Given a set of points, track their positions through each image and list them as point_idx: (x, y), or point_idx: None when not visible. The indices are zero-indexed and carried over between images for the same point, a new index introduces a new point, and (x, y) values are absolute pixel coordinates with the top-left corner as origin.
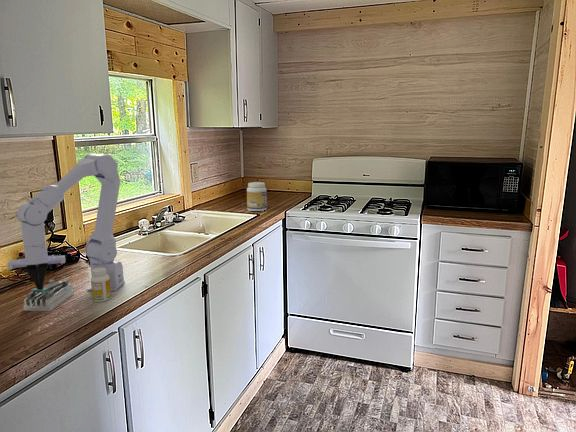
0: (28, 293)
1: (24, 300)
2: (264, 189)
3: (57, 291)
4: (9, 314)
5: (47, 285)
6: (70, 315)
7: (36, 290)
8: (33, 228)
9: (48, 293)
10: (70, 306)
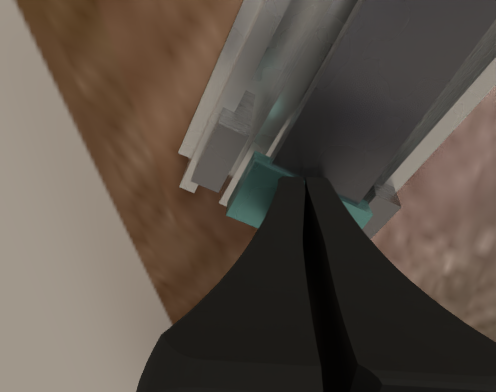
0: (199, 168)
1: (184, 184)
2: None
3: None
4: (115, 155)
5: (369, 50)
6: (429, 283)
7: None
8: None
9: None
10: (463, 183)
